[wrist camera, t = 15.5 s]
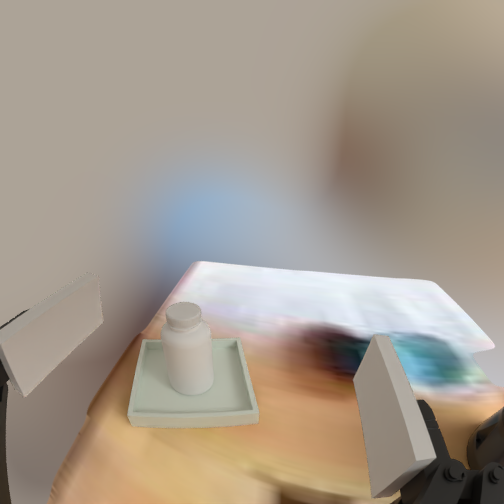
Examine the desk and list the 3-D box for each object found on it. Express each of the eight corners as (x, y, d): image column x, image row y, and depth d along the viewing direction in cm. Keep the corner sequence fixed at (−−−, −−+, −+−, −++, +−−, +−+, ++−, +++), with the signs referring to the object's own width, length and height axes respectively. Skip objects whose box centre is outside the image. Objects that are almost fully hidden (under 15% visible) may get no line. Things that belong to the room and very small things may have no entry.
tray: (239, 348, 56) (239, 337, 55) (258, 423, 37) (259, 412, 36) (145, 350, 52) (142, 339, 51) (132, 426, 34) (127, 415, 33)
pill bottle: (166, 369, 46) (155, 300, 41) (207, 363, 49) (204, 294, 44) (173, 400, 39) (159, 328, 35) (219, 392, 42) (217, 320, 37)
